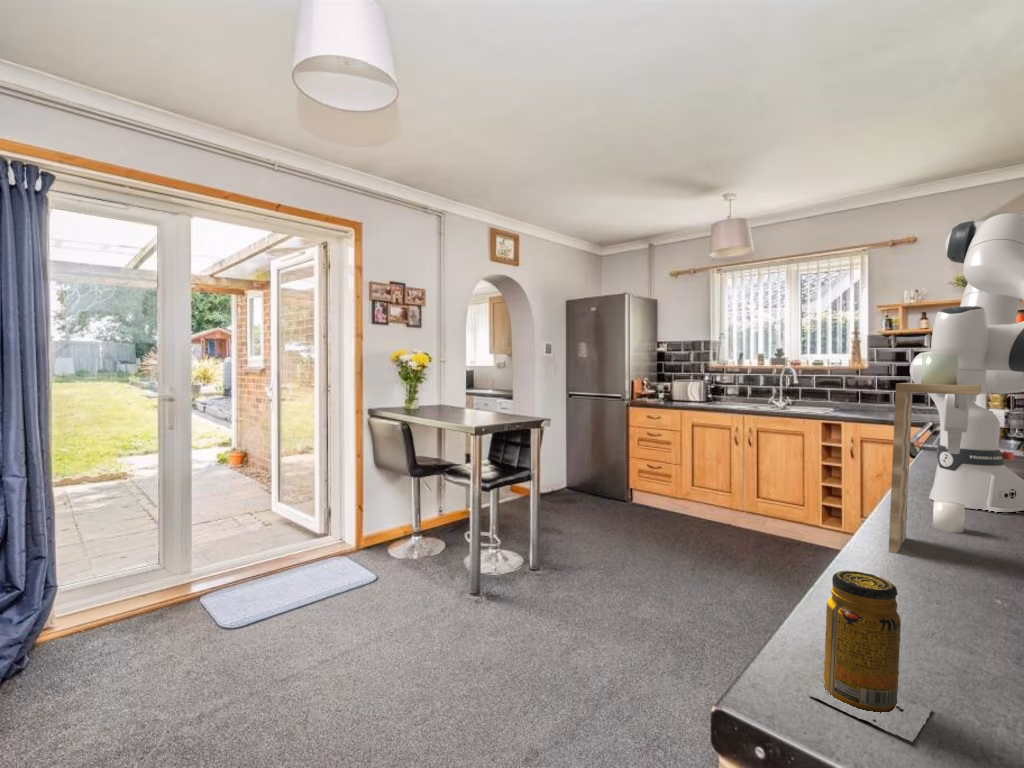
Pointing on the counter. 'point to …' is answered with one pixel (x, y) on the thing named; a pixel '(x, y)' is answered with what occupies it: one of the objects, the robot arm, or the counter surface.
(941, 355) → the pale green cylinder
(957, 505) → the cream rounded cylinder
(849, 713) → the counter surface
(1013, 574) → the counter surface
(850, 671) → the condiment
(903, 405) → the oak counter shelf
